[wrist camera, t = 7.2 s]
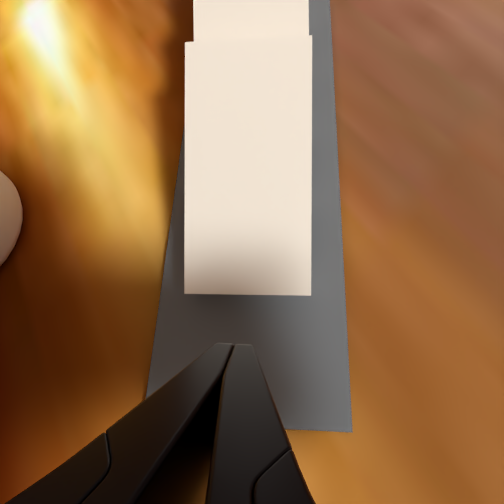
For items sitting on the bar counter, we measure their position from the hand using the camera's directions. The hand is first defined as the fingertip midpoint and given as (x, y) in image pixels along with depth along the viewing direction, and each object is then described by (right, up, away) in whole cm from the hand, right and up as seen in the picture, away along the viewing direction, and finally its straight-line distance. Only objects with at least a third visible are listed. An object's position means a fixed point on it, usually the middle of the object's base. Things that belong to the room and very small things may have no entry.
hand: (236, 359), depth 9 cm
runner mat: (+1, +7, +11) cm, 13 cm away
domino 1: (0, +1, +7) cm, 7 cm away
